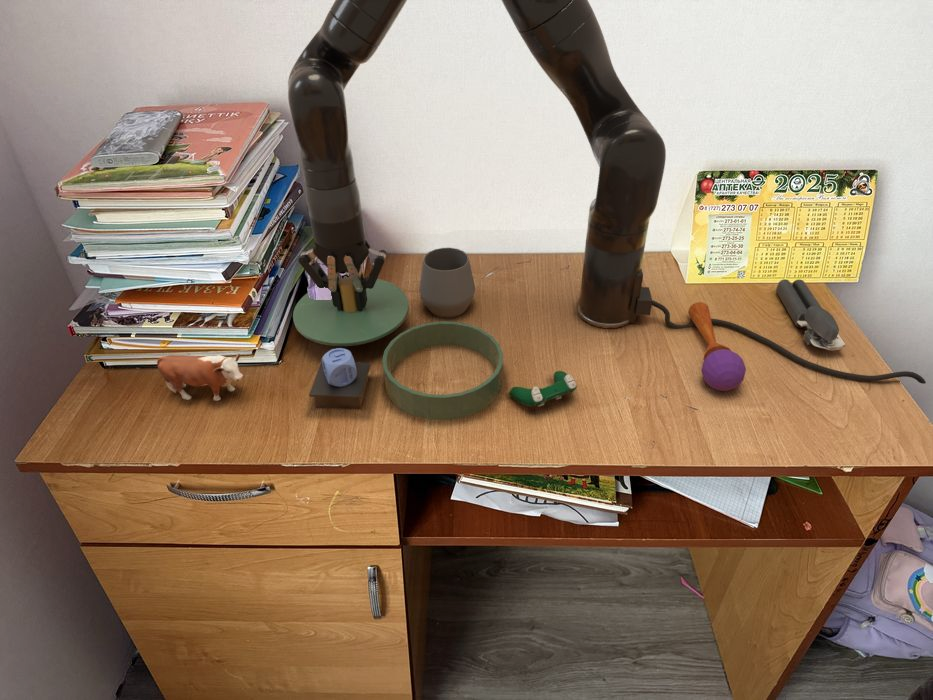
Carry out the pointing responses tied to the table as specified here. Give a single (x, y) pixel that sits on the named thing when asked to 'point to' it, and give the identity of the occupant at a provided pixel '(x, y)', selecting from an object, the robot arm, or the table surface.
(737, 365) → the purple maraca
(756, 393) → the table surface
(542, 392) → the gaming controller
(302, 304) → the tin lid
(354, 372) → the decorative dice
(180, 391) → the bull figurine
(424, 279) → the cup
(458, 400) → the tin
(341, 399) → the stand
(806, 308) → the can opener
